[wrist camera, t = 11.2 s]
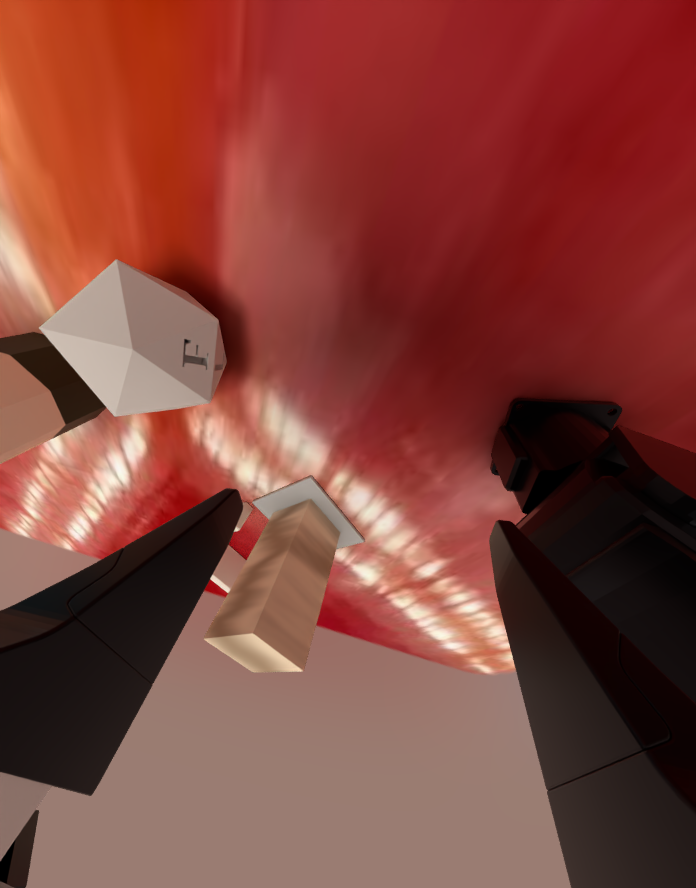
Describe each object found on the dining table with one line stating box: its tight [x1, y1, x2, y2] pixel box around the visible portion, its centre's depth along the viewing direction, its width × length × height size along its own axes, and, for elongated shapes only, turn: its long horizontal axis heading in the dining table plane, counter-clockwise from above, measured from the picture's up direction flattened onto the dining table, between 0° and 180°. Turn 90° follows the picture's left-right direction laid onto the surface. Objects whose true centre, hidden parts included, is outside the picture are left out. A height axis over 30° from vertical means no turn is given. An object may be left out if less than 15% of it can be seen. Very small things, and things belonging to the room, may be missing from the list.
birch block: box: [203, 499, 340, 672], centre depth 25 cm, size 6×6×12 cm
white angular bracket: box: [210, 502, 253, 593], centre depth 33 cm, size 10×10×4 cm
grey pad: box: [252, 476, 365, 549], centre depth 30 cm, size 8×10×1 cm
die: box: [39, 259, 227, 417], centre depth 18 cm, size 8×9×10 cm
